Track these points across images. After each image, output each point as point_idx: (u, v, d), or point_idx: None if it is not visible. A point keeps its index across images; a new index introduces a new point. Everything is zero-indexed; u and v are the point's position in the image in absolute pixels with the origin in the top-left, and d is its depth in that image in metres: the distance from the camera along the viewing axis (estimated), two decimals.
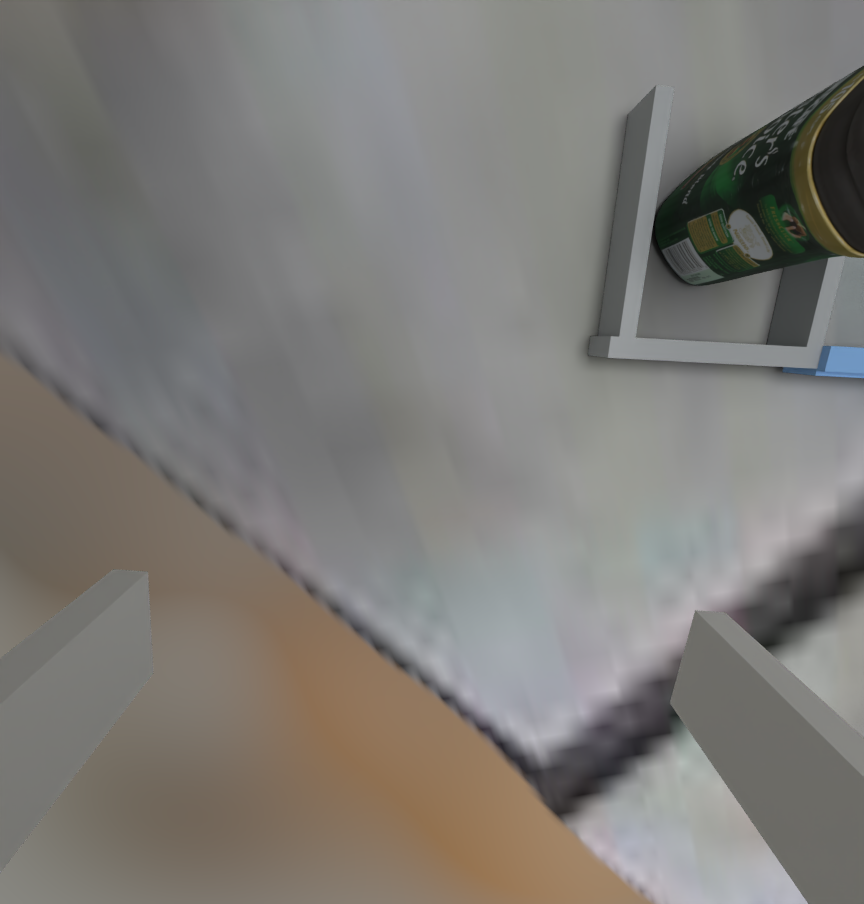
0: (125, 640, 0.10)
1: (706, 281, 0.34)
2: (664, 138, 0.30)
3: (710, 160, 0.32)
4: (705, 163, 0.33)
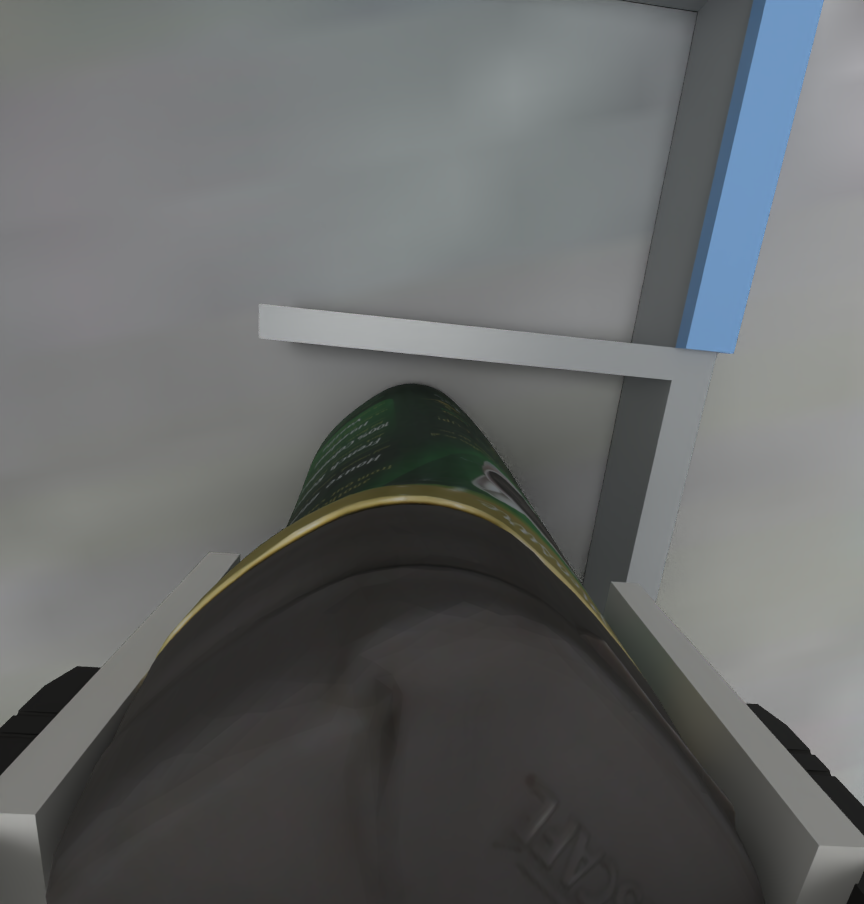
0: None
1: None
2: None
3: None
4: None
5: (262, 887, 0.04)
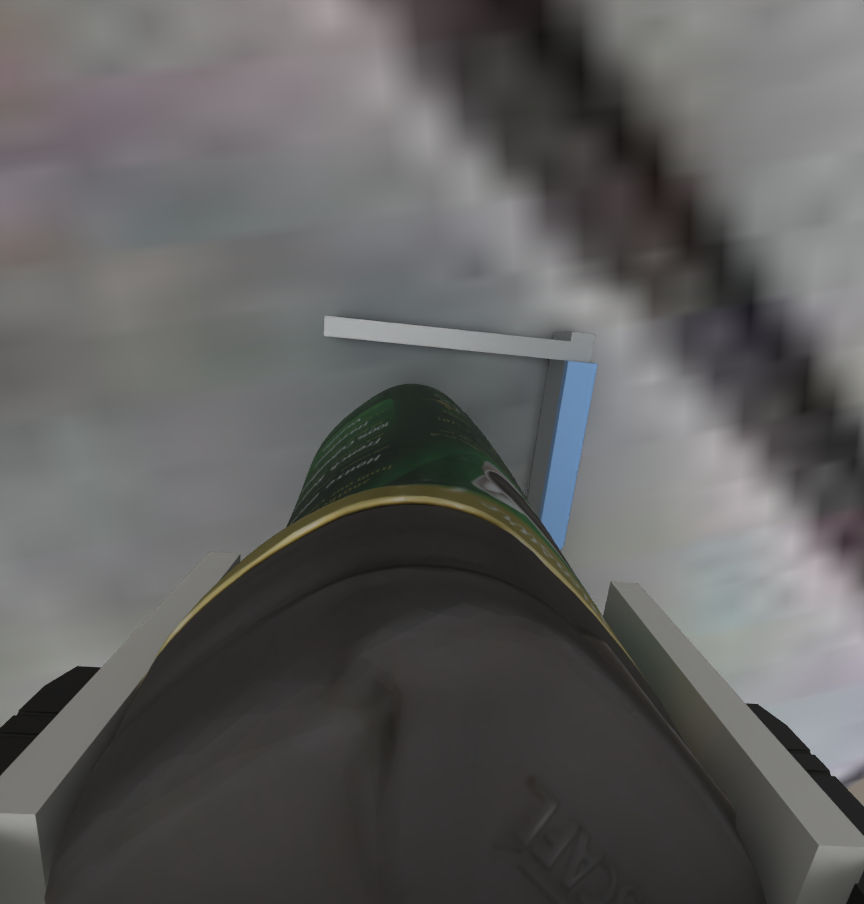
0: None
1: None
2: None
3: None
4: None
5: (261, 890, 0.04)
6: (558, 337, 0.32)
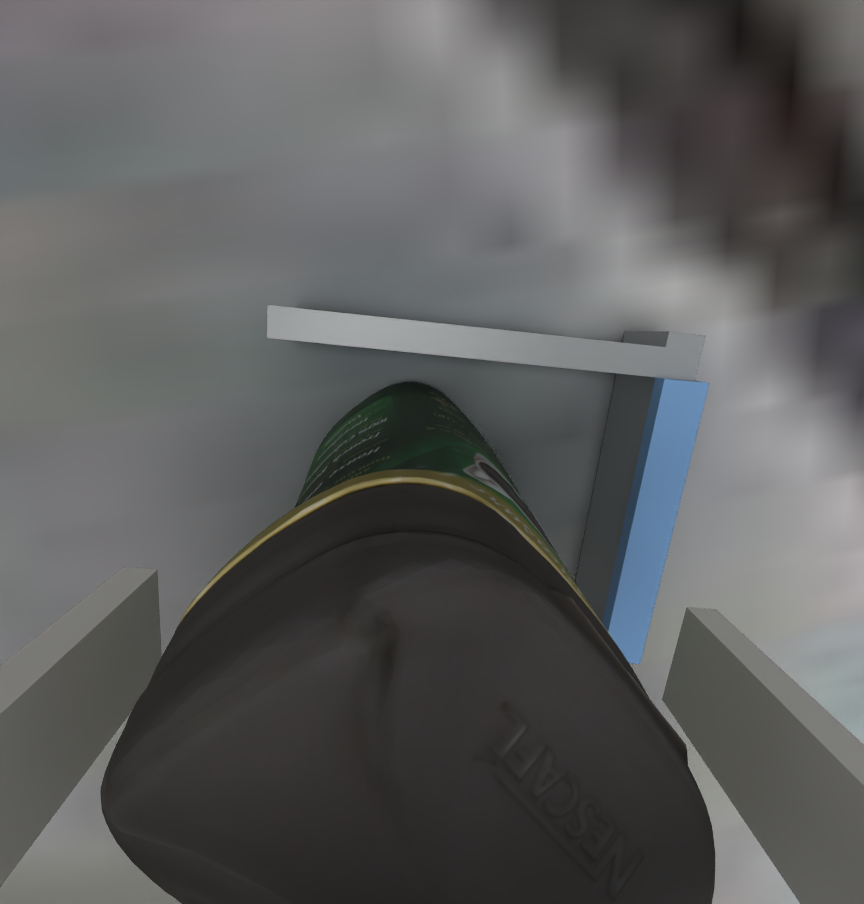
0: (135, 637, 0.10)
1: None
2: None
3: None
4: None
5: (284, 785, 0.05)
6: (634, 340, 0.21)
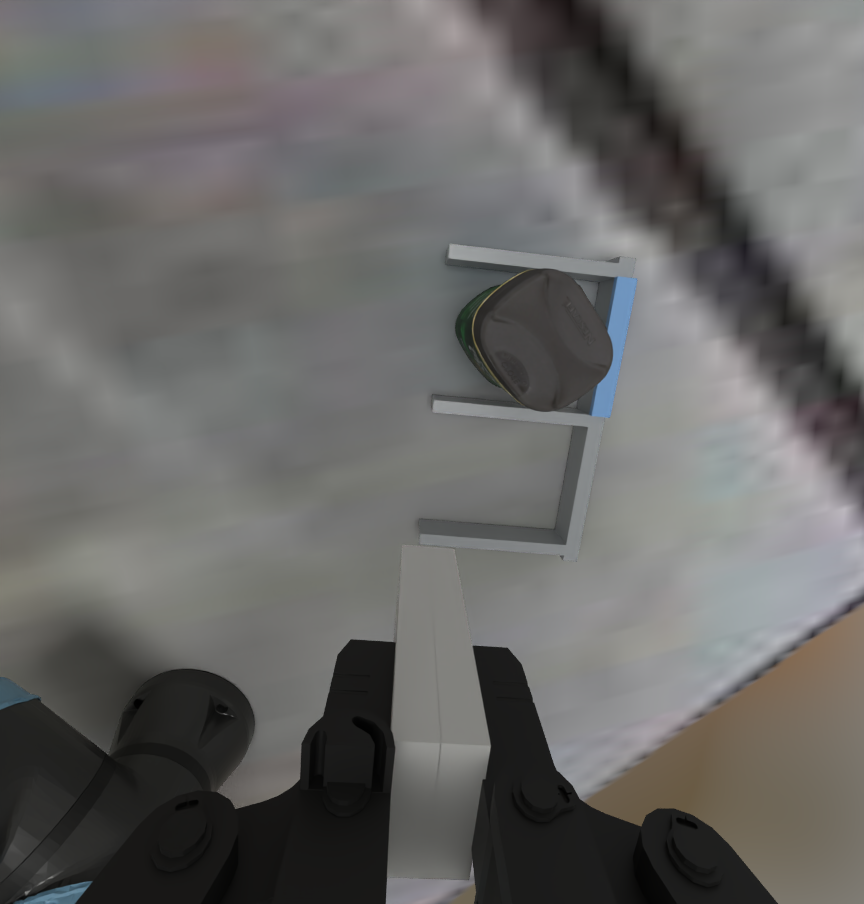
0: None
1: None
2: (447, 537, 0.48)
3: (468, 357, 0.46)
4: None
5: (529, 303, 0.29)
6: None
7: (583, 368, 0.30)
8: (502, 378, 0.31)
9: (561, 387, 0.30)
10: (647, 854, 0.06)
